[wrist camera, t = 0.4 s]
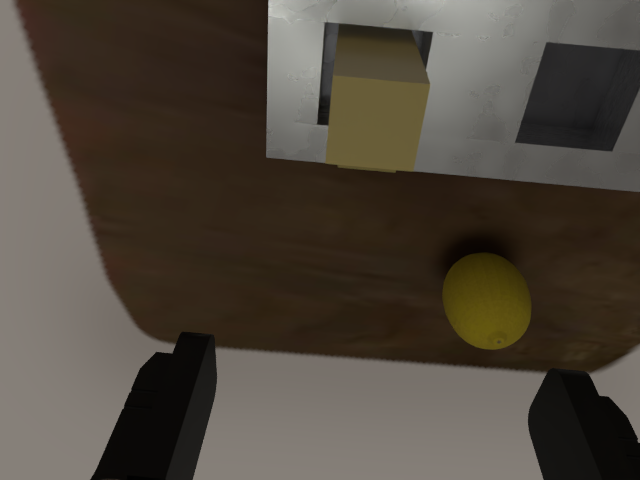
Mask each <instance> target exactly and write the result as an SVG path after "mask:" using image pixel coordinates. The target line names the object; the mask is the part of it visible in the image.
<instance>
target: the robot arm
mask: <svg viewBox="0 0 640 480" xmlns="http://www.w3.org/2000/svg"><path fill="white" fill-rule="evenodd" d="M216 384H217V369H216V354H215V339H214V335H213V334H202V333H192V332H182V333H181V334H180V336H179V338H178V341H177V343H176V346H175V348H174V351H173V354H171V353H161V352H156V353H155V354H154V355H153V356H152V357H151V358H150V359H149V360H148V361H147V362H146V363H145V364H144V365H143V366H142V367H141V368H140V370H139V372H138V375H137V377H136V379H135V382H134V384H133V386H132V391H131V392H130V393H129V395H128V398H127V400H126V402H125V405H124V409H122V412H121V414H120V416H119V418H118V421H117V423H116V425H115V428H114V430H113V432H112V434H111V437H110V439H109V441H108V444H107V446H106V448H105V451H104V453H103V455H102V458H101V460H100V462H99V465H98V467H97V469H96V471H95V473H94V475H93V476H92V478H91V479H90V480H193V476H194V472H195V469H196V465H197V461H198V458H199V454H200V450H201V447H202V443H203V439H204V435H205V431H206V428H207V424H208V420H209V417H210V413H211V409H212V405H213V402H214V397H215V392H216ZM528 426H529V432H530V436H531V439H532V443H533V446H534V449H535V453H536V456H537V459H538V463H539V466H540V469H541V472H542V475H543V479H544V480H640V443H638V441H637V440H638V438H637V436H636V434H635V432H634V430H633V428H632V426H631V424H630V422H629V420H628V418H627V416H626V415H625V414H624V413H623V412H622V411H621V410H620V409H619V407H618V406H617V405H616V404H615V403H614V402H613V401H612V400H611V399H610V398H609V397H605V396H599V394H598V392H597V390H596V388H595V386H594V383H593V381H592V379H591V377H590V376H589V374H588V373H586V372H585V371H576V370H565V369H555V368H552V369H550V370H549V371H548V373H547V374H546V376H545V378H544V380H543V383H542V384H541V386H540V388H539V390H538V392H537V394H536V396H535V398H534V400H533V402H532V404H531V406H530V409H529V414H528Z"/></svg>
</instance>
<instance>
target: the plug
mask: <svg viewBox="0 0 640 480" xmlns="http://www.w3.org/2000/svg"><path fill="white" fill-rule="evenodd" d="M430 85H431V84H430V81H429V79H428V76H427V73H426V70H425V67H424V64H423V62H422V59H421V56H420V53H419V50H418V47H417V44H416V42H415V39H414V36H413V33H412V30H402V29H391V28H379V27H368V26H357V25H346V24H339V29H338V37H337V45H336V54H335V62H334V70H333V80H332V91H331V103H330V114H329V125H328V137H327V148H326V160H325V164H336V165H338V167H340V168H351V169H361V170H372V171H383V172H394V173H396V170H401V171H412V172H413V170H414V165H415V160H416V155H417V150H418V145H419V140H420V135H421V130H422V125H423V120H424V115H425V110H426V105H427V100H428V95H429V90H430Z"/></svg>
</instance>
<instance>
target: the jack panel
mask: <svg viewBox="0 0 640 480" xmlns="http://www.w3.org/2000/svg"><path fill="white" fill-rule="evenodd" d="M339 24H346V25H357V26H368V27H379V28H391V29H402V30H412V33H413V36H414V39H415V42H416V44H417V47H418V50H419V53H420V56H421V59H422V62H423V64H424V67H425V70H426V73H427V76H428V79H429V81H430V84H431V85H430V90H429V95H428V100H427V105H426V110H425V115H424V120H423V125H422V130H421V135H420V140H419V145H418V150H417V155H416V160H415V165H414V170H413V171H418V172H429V173H440V174H451V175H462V176H473V177H483V178H494V179H505V180H516V181H527V182H538V183H548V184H559V185H570V186H581V187H592V188H603V189H613V190H624V191H635V192H640V0H269V3H268V75H267V146H266V157H267V158H278V159H288V160H299V161H310V162H321V163H325V160H326V148H327V137H328V125H329V114H330V103H331V91H332V80H333V70H334V62H335V54H336V45H337V37H338V29H339Z"/></svg>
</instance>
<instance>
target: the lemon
mask: <svg viewBox="0 0 640 480" xmlns="http://www.w3.org/2000/svg"><path fill="white" fill-rule="evenodd" d="M442 297H443V304H444V308H445V312H446V315H447V318H448V320H449V321H450V323H451V325H452V326H453V328H454V330H455V331H456V332H457V334H458V335H459V336H460V337H461V338H462V339H464V340H465V341H466V342H468V343H469V344H471V345H473V346H475V347H479V348H483V349H500V348H504V347H507V346H509V345H511V344H513V343H514V342H516V341H517V340H518V339H519V338H520V337H521V336H522V335H523V334H524V333H525V331H526V329H527V327H528V325H529V322H530V317H531V298H530V294H529V290H528V287H527V284H526V281H525V279H524V278H523V276H522V275H521V273H520V272H519V271H518V269H517V268H516V267H515V266H514V265H513V264H512V263H510V262H509V261H508V260H506V259H505V258H503V257H501V256H498V255H496V254H492V253H485V252H484V253H474V254H470V255H467V256H465V257H463V258H461V259H460V260H459V261H457V262H456V263H455V264H454V265H453V266H452V267H451V268H450V270H449V271H448V273H447V276H446V278H445V280H444V284H443V294H442Z"/></svg>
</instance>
